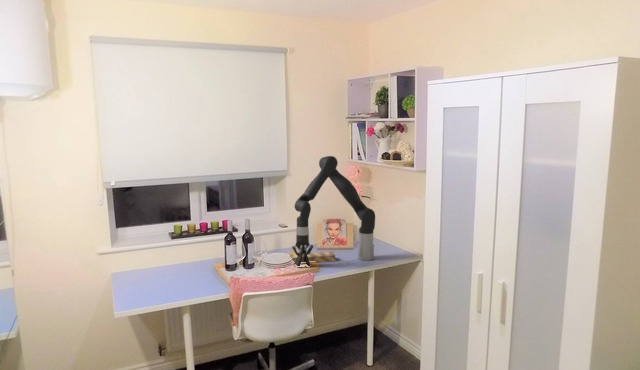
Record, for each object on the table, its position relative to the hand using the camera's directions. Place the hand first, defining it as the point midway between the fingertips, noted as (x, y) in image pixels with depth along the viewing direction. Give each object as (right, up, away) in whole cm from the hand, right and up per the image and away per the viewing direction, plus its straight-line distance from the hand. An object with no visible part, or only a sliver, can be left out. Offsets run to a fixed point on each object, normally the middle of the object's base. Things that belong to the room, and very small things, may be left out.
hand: (302, 261), depth 271 cm
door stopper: (0, -3, 0) cm, 3 cm away
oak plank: (+6, -2, +12) cm, 13 cm away
